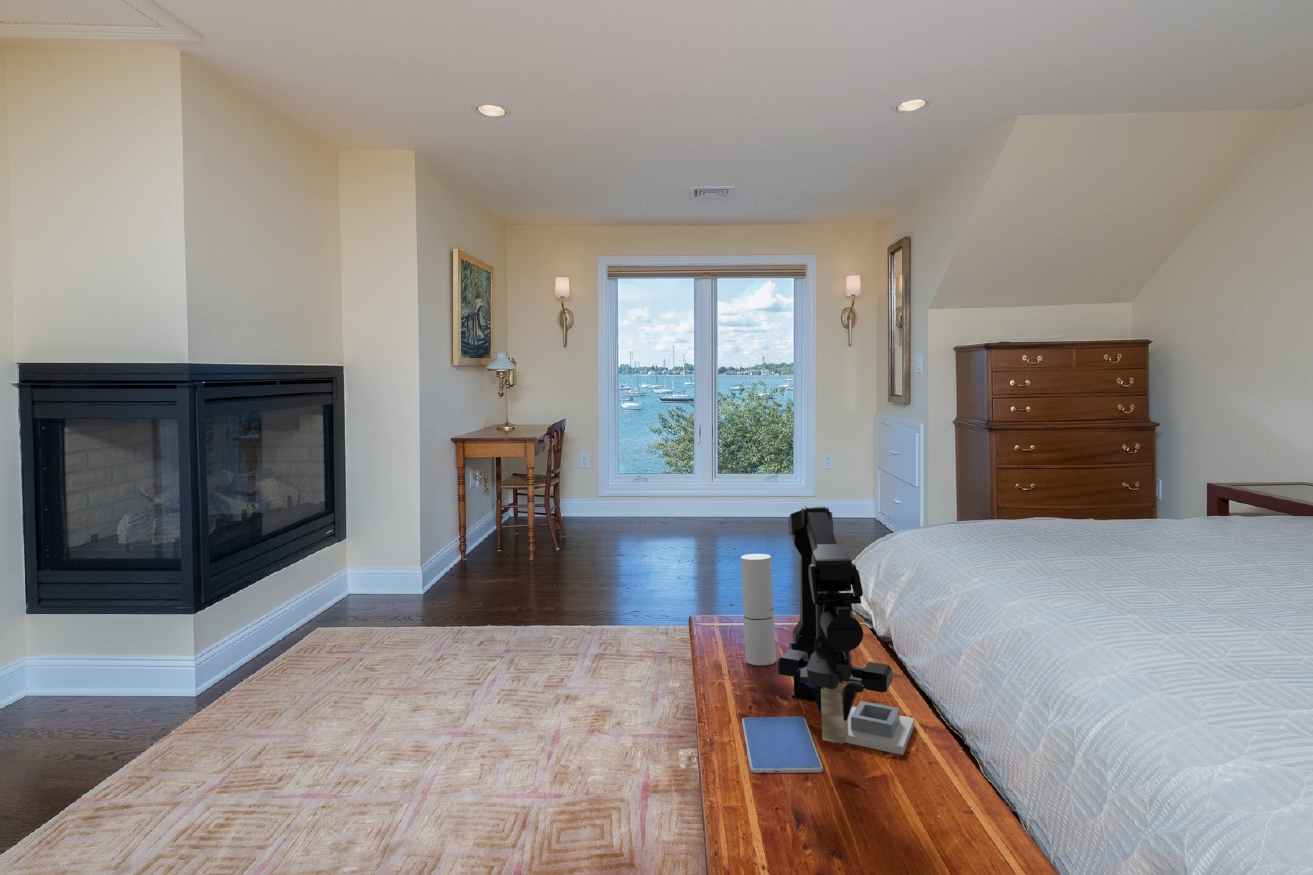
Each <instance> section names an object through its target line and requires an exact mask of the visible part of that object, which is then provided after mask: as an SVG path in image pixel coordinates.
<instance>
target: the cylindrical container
mask: <svg viewBox="0 0 1313 875" xmlns="http://www.w3.org/2000/svg"><path fill="white" fill-rule="evenodd" d="M740 567H741V570H740V571H741V589H742V609H743V610H742V611H743V612H742V613H743V628H744V630H743V631H744V648H745V650H744V653H745V662H746V663H747V664H750V665H753V666H768V665H773V664H774V663H776V661H777V658H776V657H777V655H776V653H777V652H776V637H775V636H776V634H775V614H774V612H775V611H774V594H773V592H774V591H773V590H774V589H773V572H772V556H771V555H770V554H767V553H749V554H744V555H741V556H740Z"/></svg>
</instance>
